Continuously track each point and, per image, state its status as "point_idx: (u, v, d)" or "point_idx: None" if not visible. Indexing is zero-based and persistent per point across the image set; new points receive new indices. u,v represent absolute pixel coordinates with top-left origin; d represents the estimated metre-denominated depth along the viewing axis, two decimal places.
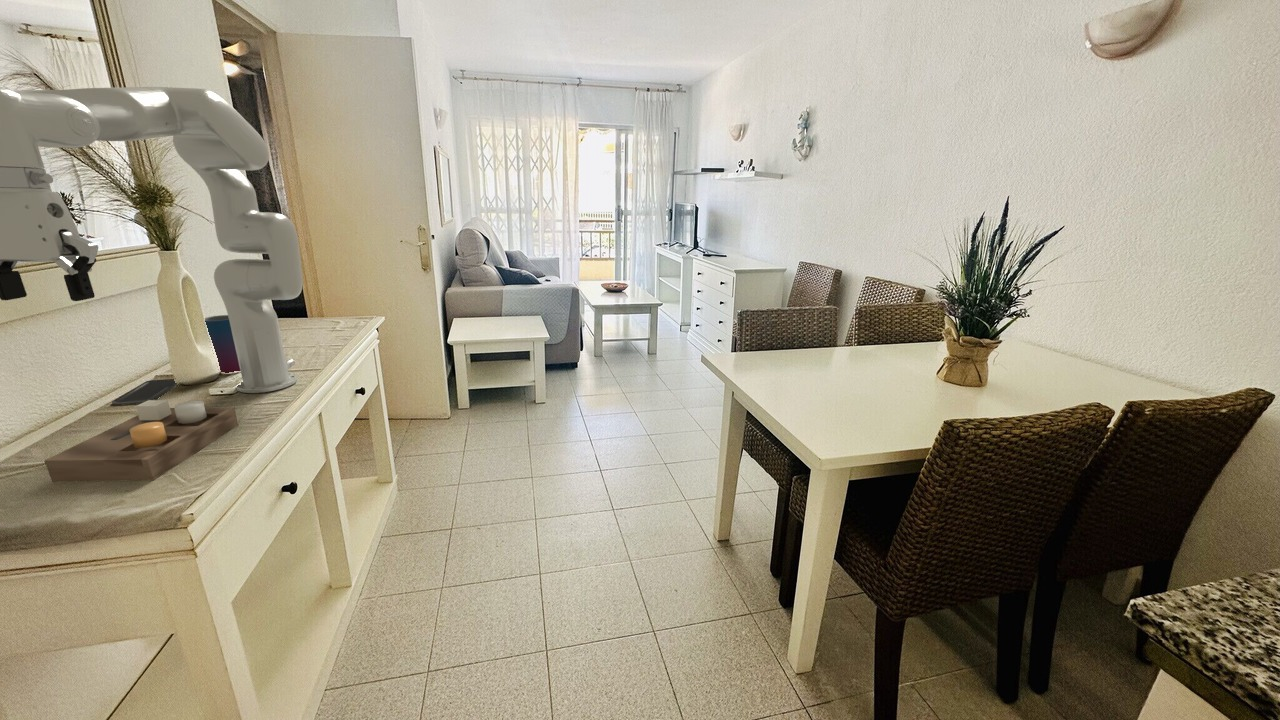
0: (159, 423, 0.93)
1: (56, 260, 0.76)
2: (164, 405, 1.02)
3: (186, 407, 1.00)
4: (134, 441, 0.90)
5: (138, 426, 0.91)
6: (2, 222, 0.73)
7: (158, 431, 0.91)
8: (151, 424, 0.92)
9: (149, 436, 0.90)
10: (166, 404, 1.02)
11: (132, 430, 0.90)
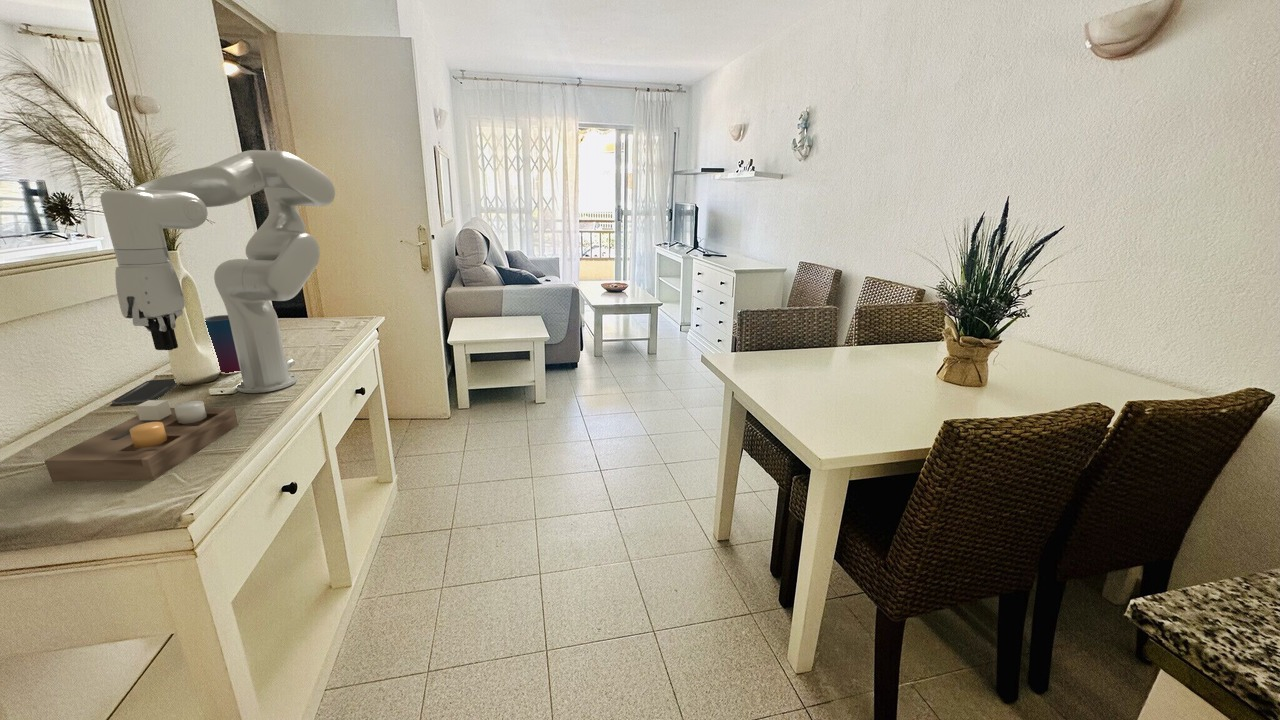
0: (159, 423, 0.93)
1: (172, 315, 1.04)
2: (164, 405, 1.02)
3: (186, 407, 1.00)
4: (134, 441, 0.90)
5: (138, 426, 0.91)
6: (163, 287, 1.01)
7: (158, 431, 0.91)
8: (151, 424, 0.92)
9: (149, 436, 0.90)
10: (166, 404, 1.02)
11: (132, 430, 0.90)
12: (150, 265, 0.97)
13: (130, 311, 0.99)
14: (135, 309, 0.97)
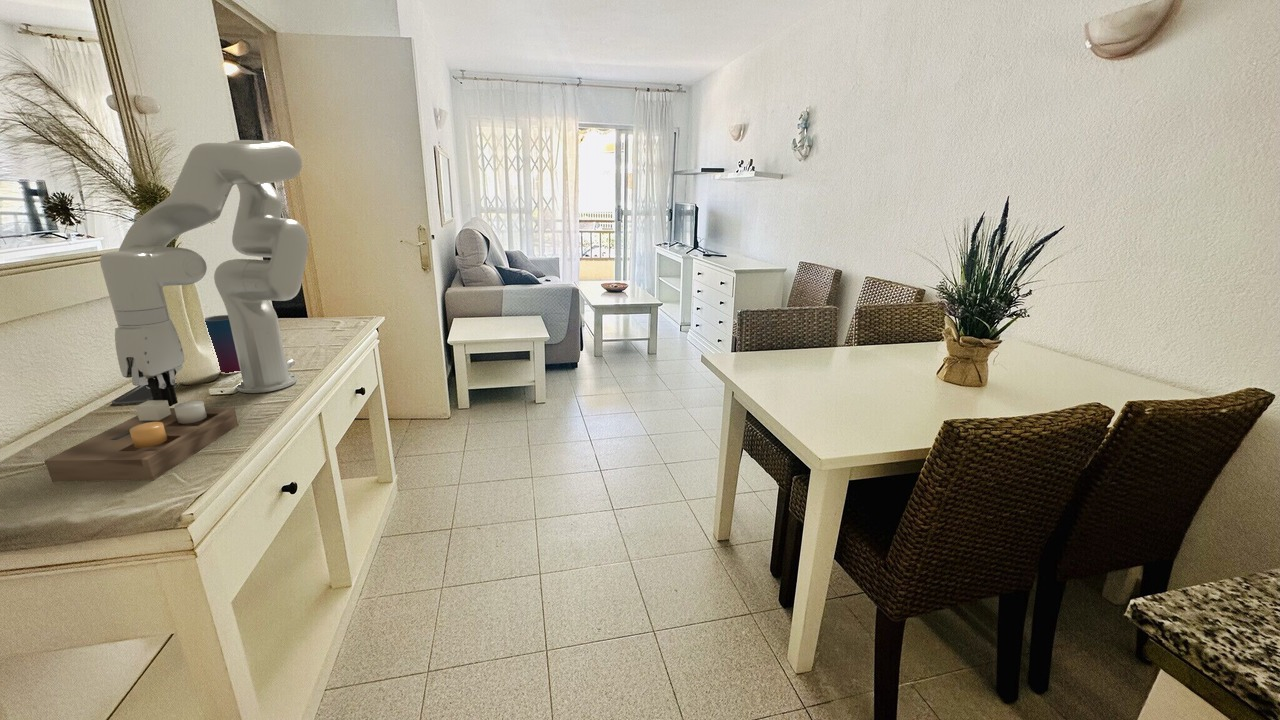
0: (159, 423, 0.93)
1: (171, 371, 1.04)
2: (164, 405, 1.02)
3: (186, 407, 1.00)
4: (134, 441, 0.90)
5: (138, 426, 0.91)
6: (162, 345, 1.01)
7: (158, 431, 0.91)
8: (151, 424, 0.92)
9: (149, 436, 0.90)
10: (166, 404, 1.02)
11: (132, 430, 0.90)
12: (150, 325, 0.97)
13: (130, 370, 0.99)
14: (134, 369, 0.97)
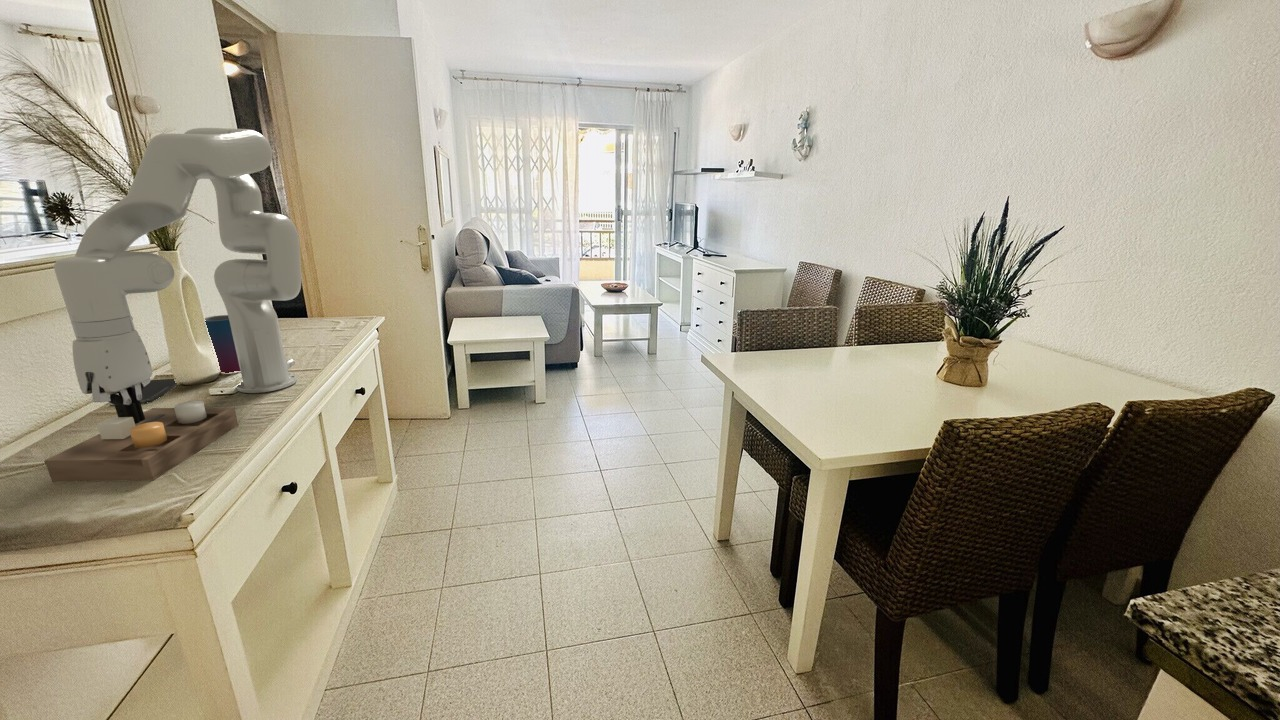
0: (159, 423, 0.93)
1: (137, 386, 0.96)
2: (129, 422, 0.94)
3: (186, 407, 1.00)
4: (134, 441, 0.90)
5: (138, 426, 0.91)
6: (126, 358, 0.93)
7: (158, 431, 0.91)
8: (151, 424, 0.92)
9: (149, 436, 0.90)
10: (131, 421, 0.95)
11: (132, 430, 0.90)
12: (111, 337, 0.90)
13: (90, 386, 0.91)
14: (95, 385, 0.90)
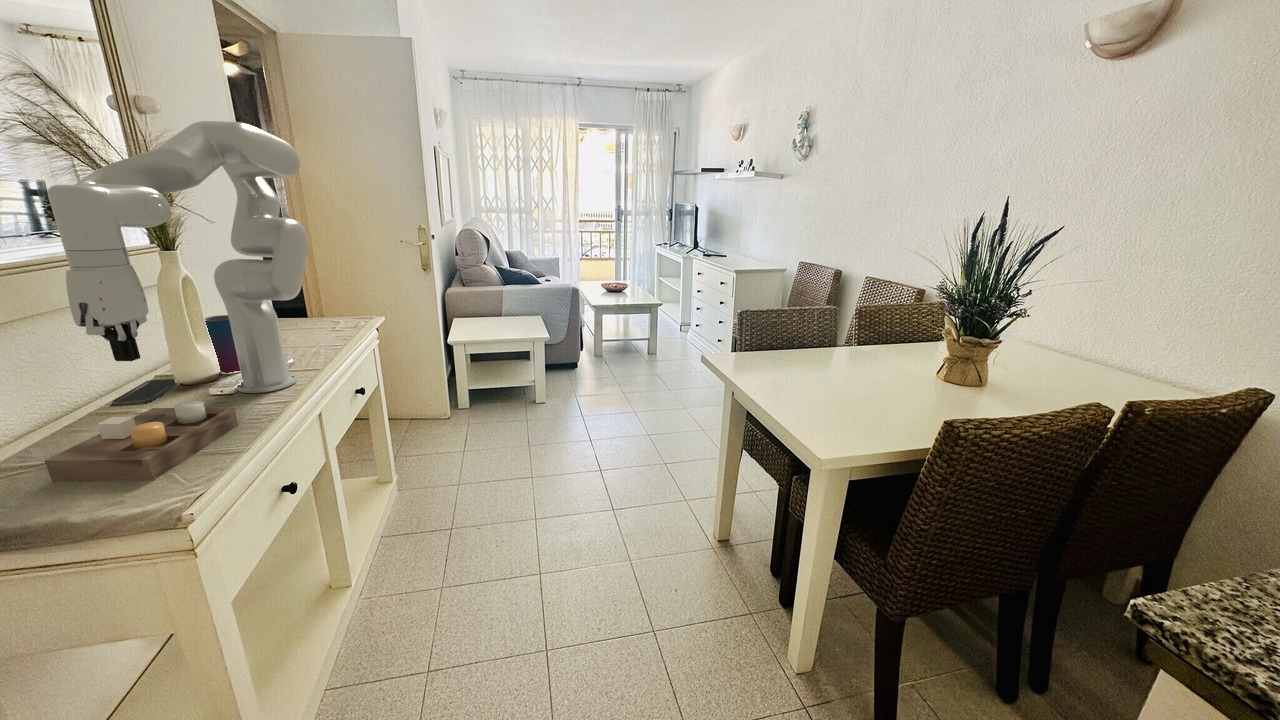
0: (159, 423, 0.93)
1: (133, 323, 0.95)
2: (129, 422, 0.94)
3: (186, 407, 1.00)
4: (134, 441, 0.90)
5: (138, 426, 0.91)
6: (121, 292, 0.91)
7: (158, 431, 0.91)
8: (151, 424, 0.92)
9: (149, 436, 0.90)
10: (131, 421, 0.95)
11: (132, 430, 0.90)
12: (105, 268, 0.88)
13: (84, 319, 0.89)
14: (88, 317, 0.88)
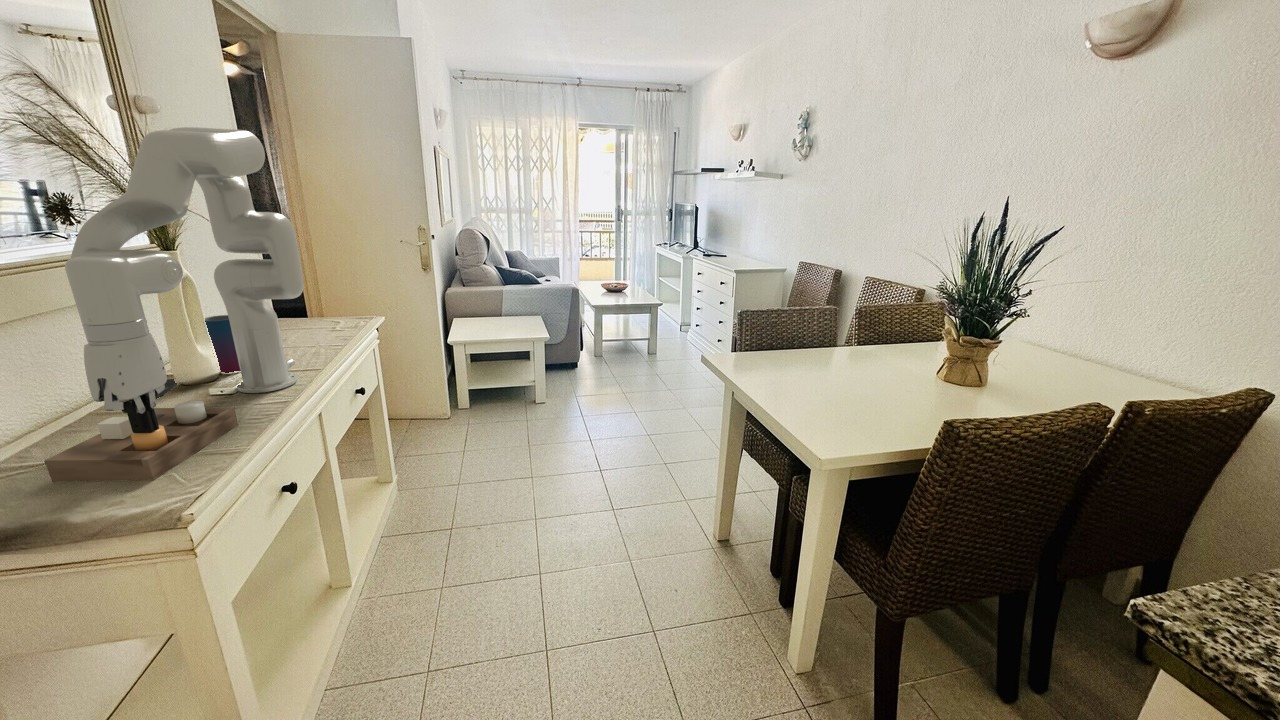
0: (160, 427, 0.93)
1: (152, 393, 0.91)
2: (129, 422, 0.94)
3: (186, 407, 1.00)
4: (135, 444, 0.90)
5: None
6: (140, 363, 0.87)
7: (159, 435, 0.92)
8: None
9: (150, 440, 0.91)
10: None
11: (133, 434, 0.90)
12: (125, 341, 0.84)
13: (102, 393, 0.85)
14: (107, 392, 0.84)
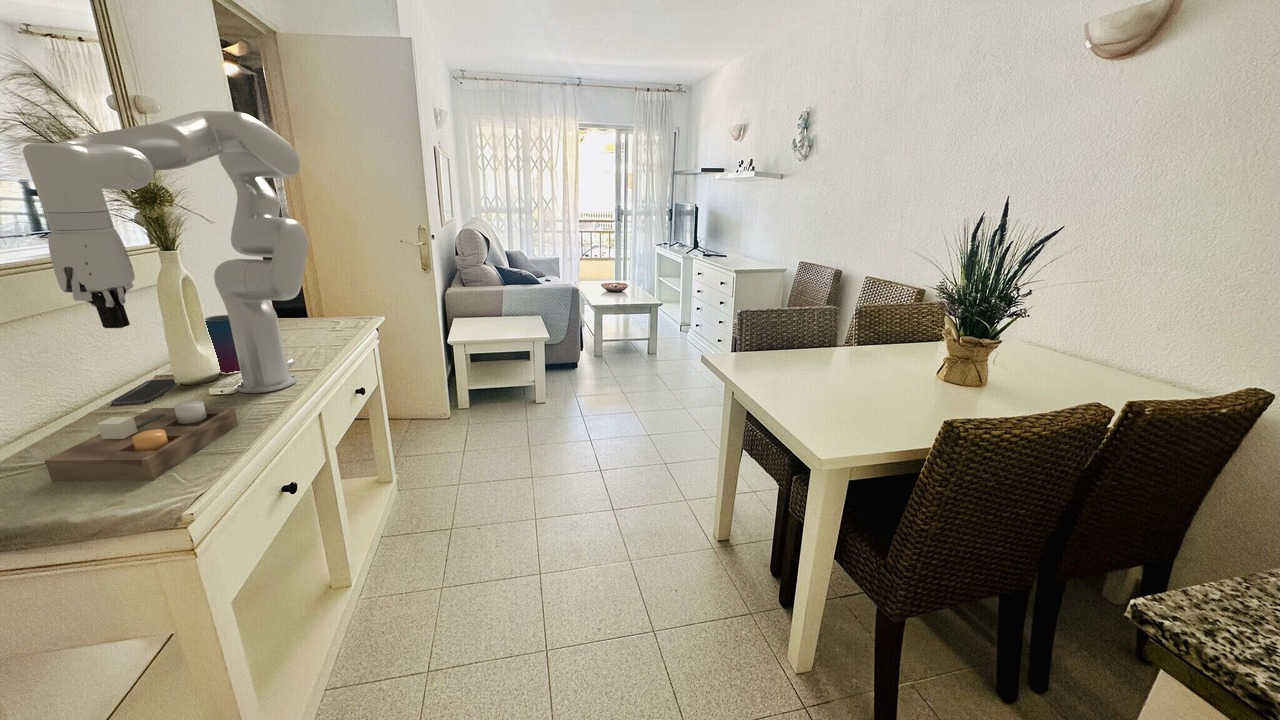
0: (161, 431, 0.93)
1: (120, 289, 0.92)
2: (129, 422, 0.94)
3: (186, 407, 1.00)
4: (136, 448, 0.90)
5: (140, 434, 0.92)
6: (106, 256, 0.89)
7: (160, 439, 0.92)
8: (153, 432, 0.93)
9: (152, 444, 0.91)
10: (131, 421, 0.95)
11: (134, 438, 0.90)
12: (89, 231, 0.85)
13: (69, 284, 0.87)
14: (75, 282, 0.86)
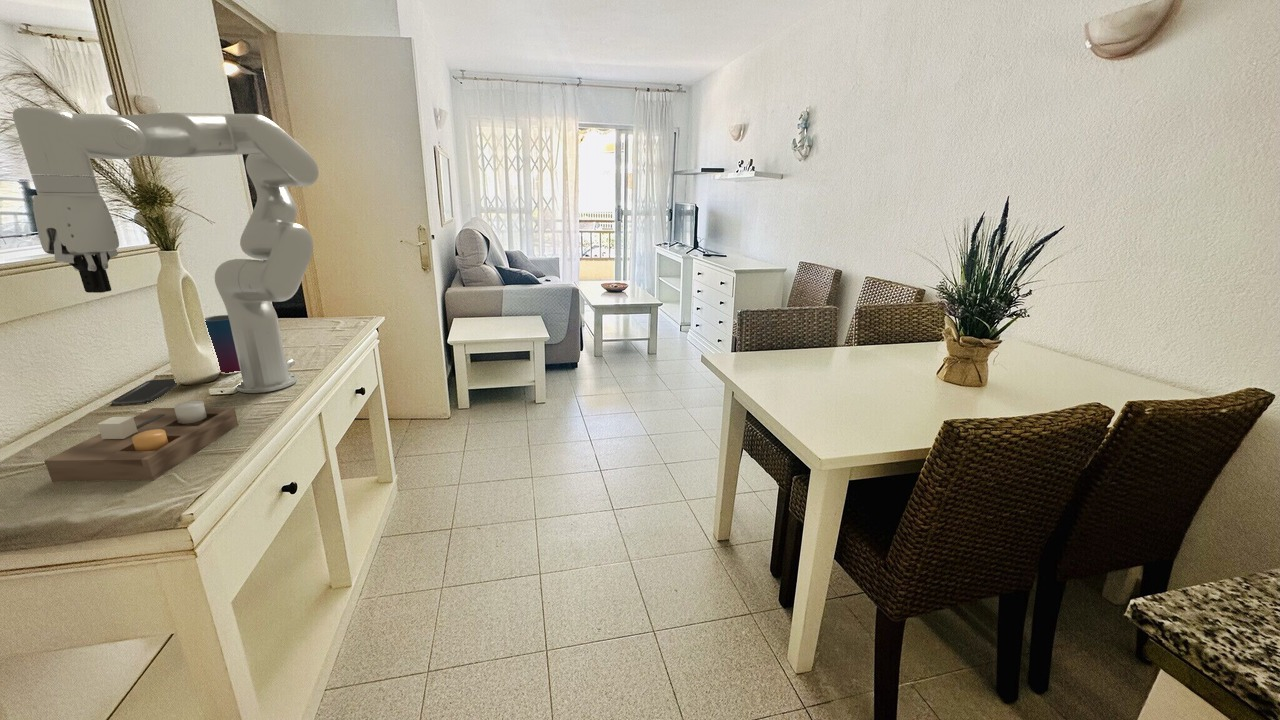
0: (161, 431, 0.93)
1: (103, 254, 0.94)
2: (129, 422, 0.94)
3: (186, 407, 1.00)
4: (136, 448, 0.90)
5: (140, 434, 0.92)
6: (90, 220, 0.91)
7: (160, 439, 0.92)
8: (153, 432, 0.93)
9: (152, 444, 0.91)
10: (131, 421, 0.95)
11: (134, 438, 0.90)
12: (73, 194, 0.88)
13: (53, 246, 0.89)
14: (57, 243, 0.88)
